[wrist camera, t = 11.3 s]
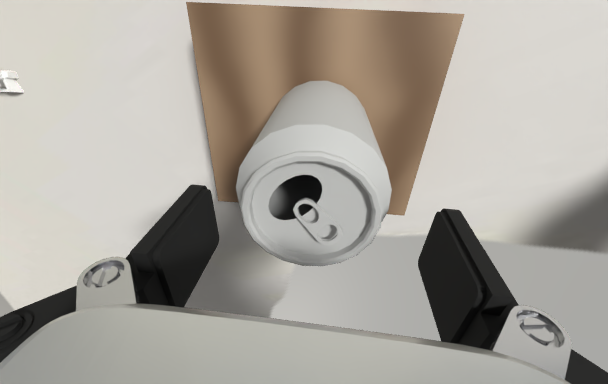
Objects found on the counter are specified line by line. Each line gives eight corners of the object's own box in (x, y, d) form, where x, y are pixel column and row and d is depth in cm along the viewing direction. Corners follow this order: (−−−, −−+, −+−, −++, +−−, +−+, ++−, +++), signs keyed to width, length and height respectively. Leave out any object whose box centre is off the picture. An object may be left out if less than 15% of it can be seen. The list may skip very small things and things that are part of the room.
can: (319, 54, 19) (306, 94, 9) (386, 127, 21) (436, 224, 11) (254, 127, 22) (192, 218, 12) (319, 184, 25) (311, 298, 15)
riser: (437, 15, 21) (464, 14, 17) (393, 187, 30) (404, 215, 26) (213, 5, 22) (186, 2, 18) (233, 175, 31) (218, 200, 27)
